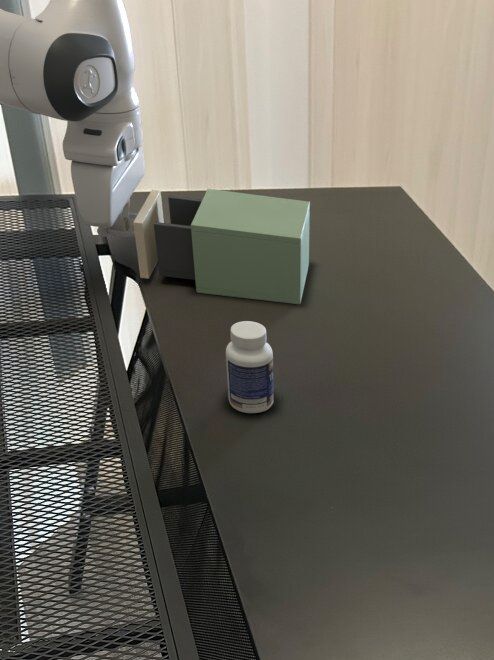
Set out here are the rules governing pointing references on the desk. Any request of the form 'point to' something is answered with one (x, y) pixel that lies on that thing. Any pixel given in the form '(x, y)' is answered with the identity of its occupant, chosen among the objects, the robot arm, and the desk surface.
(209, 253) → the green drawer cabinet
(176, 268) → the drawer
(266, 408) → the pill bottle
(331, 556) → the desk surface
